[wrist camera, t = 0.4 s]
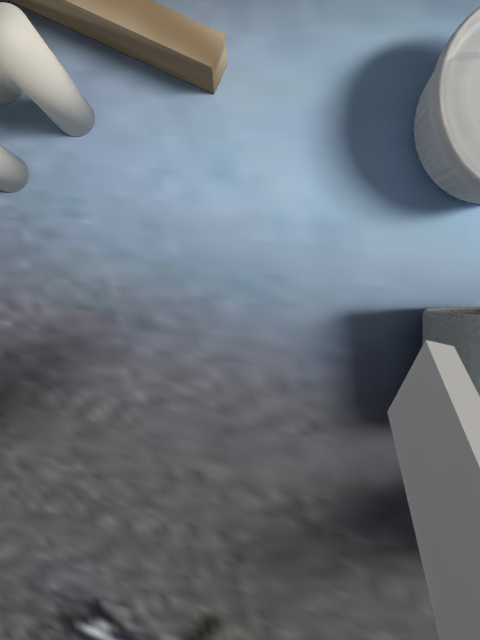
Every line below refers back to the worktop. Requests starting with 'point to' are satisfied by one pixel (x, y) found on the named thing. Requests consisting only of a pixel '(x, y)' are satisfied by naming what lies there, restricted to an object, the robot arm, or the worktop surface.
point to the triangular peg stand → (145, 35)
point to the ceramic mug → (456, 335)
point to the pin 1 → (8, 89)
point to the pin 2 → (41, 73)
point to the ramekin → (453, 115)
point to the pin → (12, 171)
